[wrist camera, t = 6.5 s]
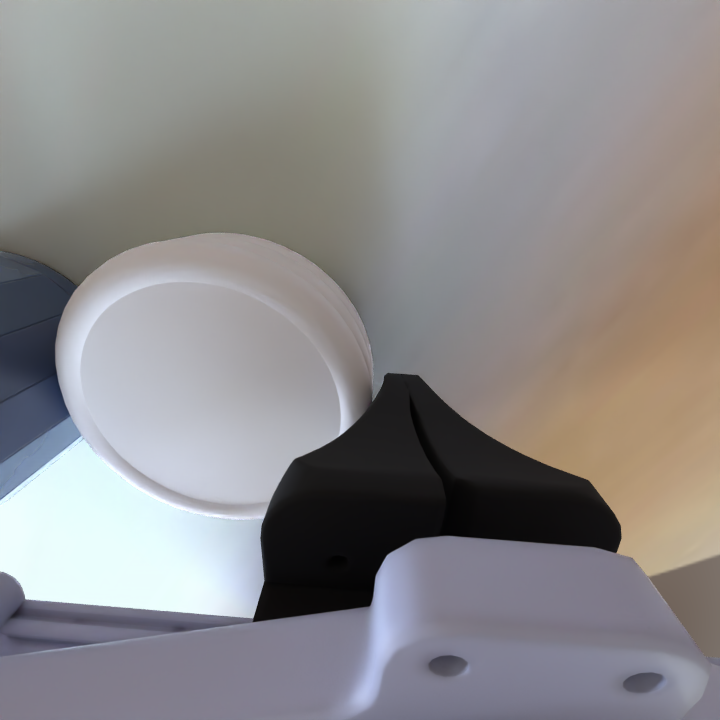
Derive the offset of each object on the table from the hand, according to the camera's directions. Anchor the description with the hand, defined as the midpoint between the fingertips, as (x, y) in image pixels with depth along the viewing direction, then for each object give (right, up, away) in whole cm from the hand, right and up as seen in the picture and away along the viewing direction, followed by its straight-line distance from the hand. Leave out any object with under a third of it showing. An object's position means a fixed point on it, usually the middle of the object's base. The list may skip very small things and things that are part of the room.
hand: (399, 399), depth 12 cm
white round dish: (-6, +1, +2) cm, 6 cm away
